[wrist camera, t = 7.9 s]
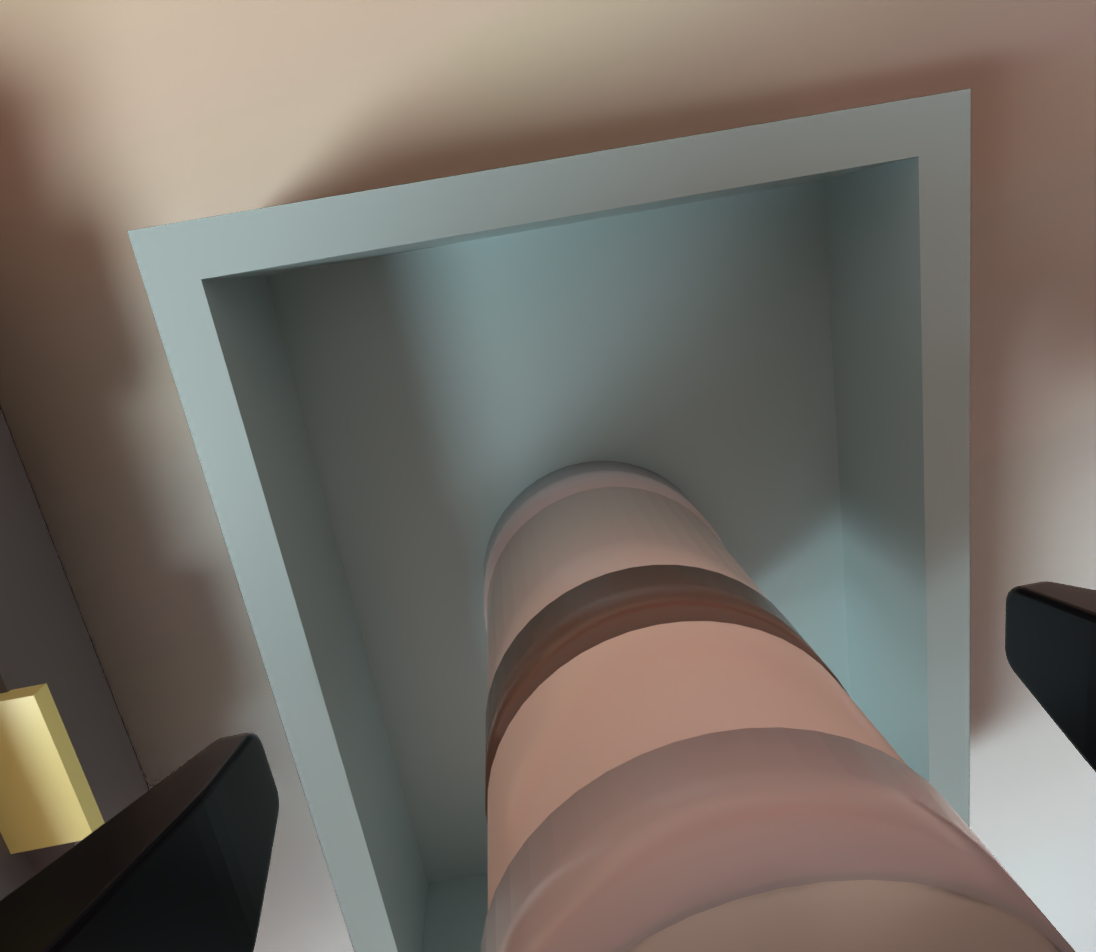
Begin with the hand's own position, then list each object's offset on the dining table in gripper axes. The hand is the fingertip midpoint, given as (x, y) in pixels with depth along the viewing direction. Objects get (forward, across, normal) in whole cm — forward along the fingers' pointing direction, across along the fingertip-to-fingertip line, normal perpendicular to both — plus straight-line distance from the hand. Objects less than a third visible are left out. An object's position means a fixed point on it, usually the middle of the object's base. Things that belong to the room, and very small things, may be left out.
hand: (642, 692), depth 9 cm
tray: (+4, 0, 0) cm, 4 cm away
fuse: (+3, 0, 0) cm, 3 cm away
